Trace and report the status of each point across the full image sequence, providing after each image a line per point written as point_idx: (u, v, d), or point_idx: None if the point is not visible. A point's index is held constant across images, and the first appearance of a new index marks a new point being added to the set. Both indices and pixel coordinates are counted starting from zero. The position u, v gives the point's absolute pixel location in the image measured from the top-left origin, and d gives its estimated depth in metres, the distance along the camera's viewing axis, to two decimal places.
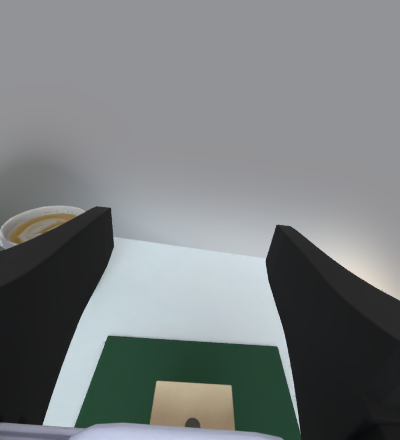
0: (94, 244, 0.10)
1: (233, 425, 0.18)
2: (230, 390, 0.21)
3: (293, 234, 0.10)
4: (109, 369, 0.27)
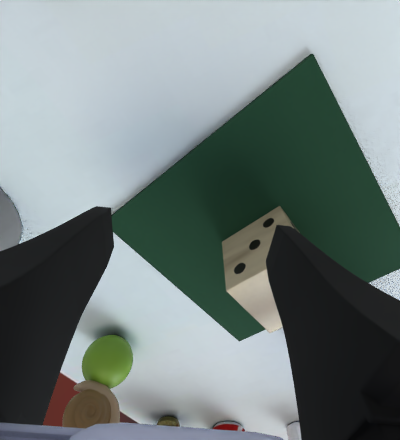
0: (94, 244, 0.10)
1: None
2: None
3: (293, 234, 0.10)
4: (145, 243, 0.24)
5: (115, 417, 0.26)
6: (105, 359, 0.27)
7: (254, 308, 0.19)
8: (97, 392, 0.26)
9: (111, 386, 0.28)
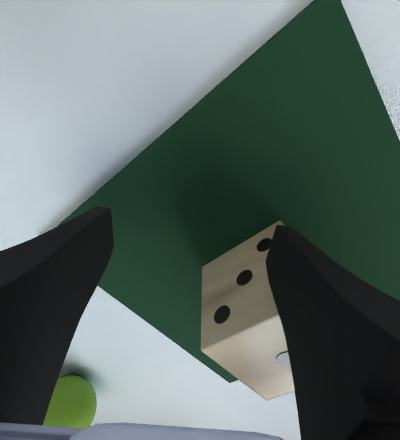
0: (94, 244, 0.10)
1: None
2: None
3: (293, 234, 0.10)
4: None
5: None
6: (55, 413, 0.21)
7: (243, 372, 0.13)
8: None
9: None
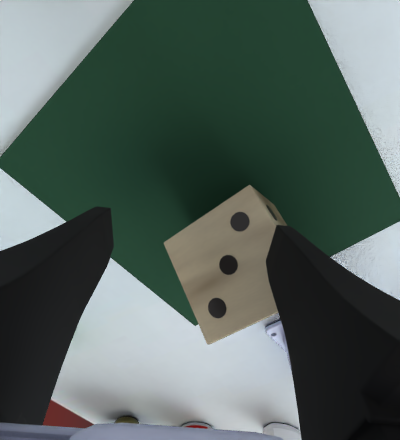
0: (94, 244, 0.10)
1: None
2: None
3: (293, 234, 0.10)
4: (56, 192, 0.18)
5: None
6: None
7: None
8: None
9: None
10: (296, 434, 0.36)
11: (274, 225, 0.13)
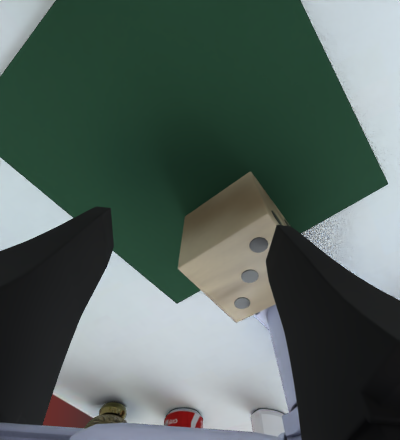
0: (94, 244, 0.10)
1: None
2: None
3: (293, 234, 0.10)
4: (28, 158, 0.18)
5: None
6: None
7: None
8: None
9: None
10: None
11: None
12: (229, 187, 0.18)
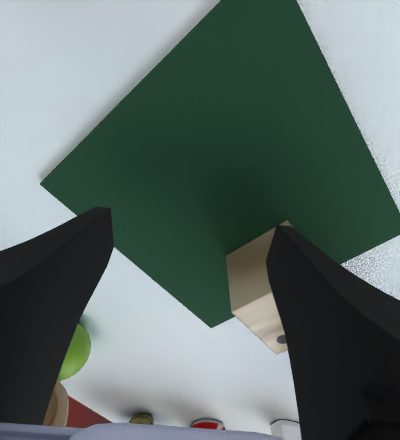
0: (94, 244, 0.10)
1: None
2: None
3: (293, 234, 0.10)
4: None
5: (62, 412, 0.23)
6: None
7: None
8: None
9: (61, 377, 0.24)
10: None
11: None
12: (268, 233, 0.21)
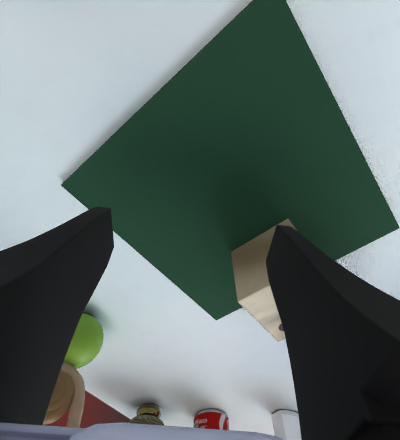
0: (94, 244, 0.10)
1: None
2: None
3: (293, 234, 0.10)
4: None
5: (79, 397, 0.24)
6: None
7: None
8: (60, 370, 0.25)
9: (77, 365, 0.26)
10: None
11: None
12: (270, 230, 0.23)
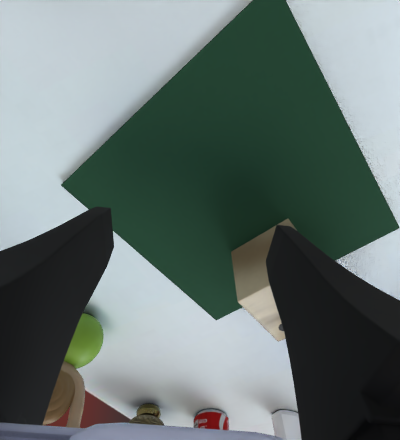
0: (94, 244, 0.10)
1: None
2: None
3: (293, 234, 0.10)
4: None
5: (79, 397, 0.24)
6: None
7: None
8: (60, 370, 0.25)
9: (77, 365, 0.26)
10: None
11: None
12: (270, 230, 0.23)
